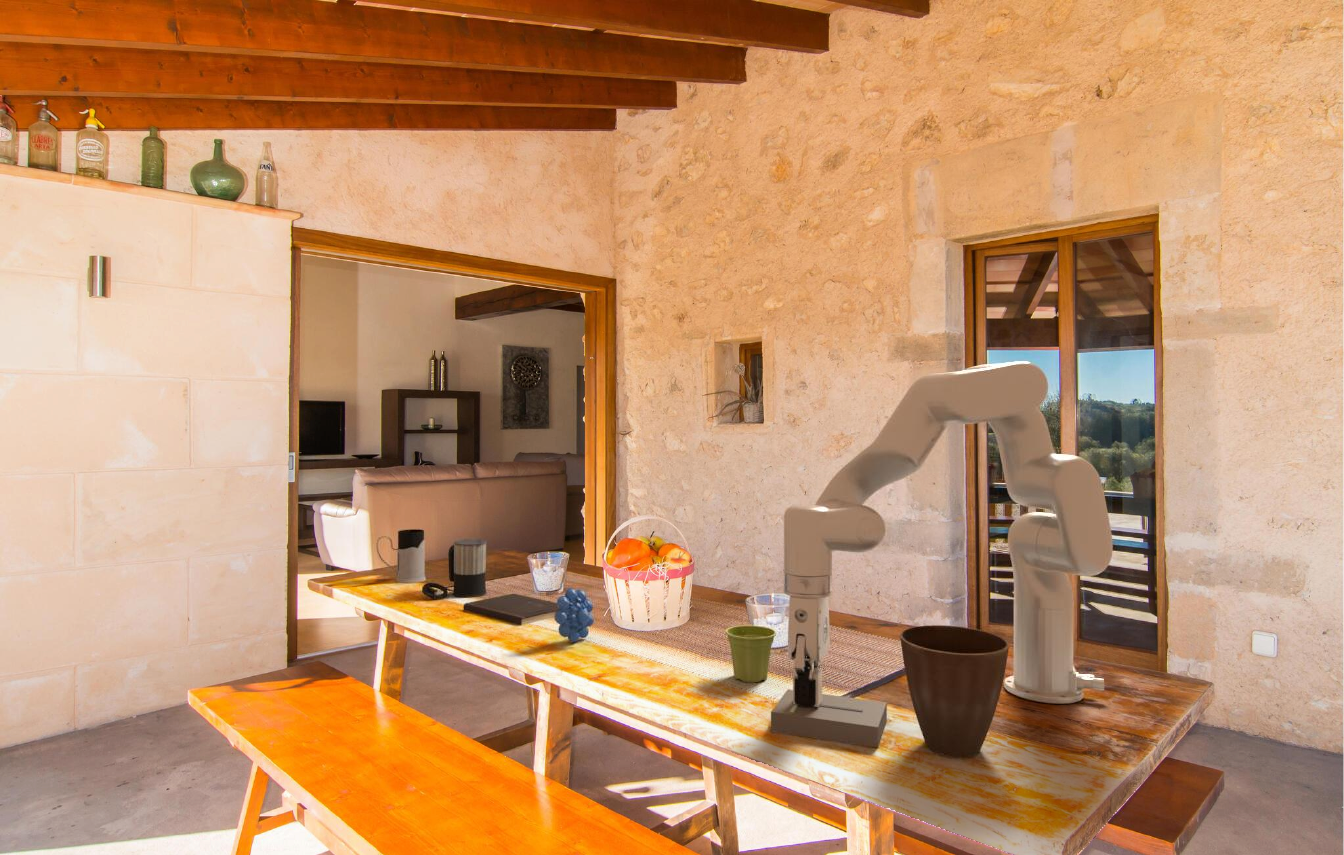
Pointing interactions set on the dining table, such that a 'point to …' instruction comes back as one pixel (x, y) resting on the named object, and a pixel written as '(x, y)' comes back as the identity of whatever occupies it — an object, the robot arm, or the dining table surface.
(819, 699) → the block
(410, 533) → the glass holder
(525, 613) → the hardcover book
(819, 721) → the block
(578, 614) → the grapes
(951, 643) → the plant pot
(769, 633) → the plant pot
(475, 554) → the milk frother
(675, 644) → the dining table surface
